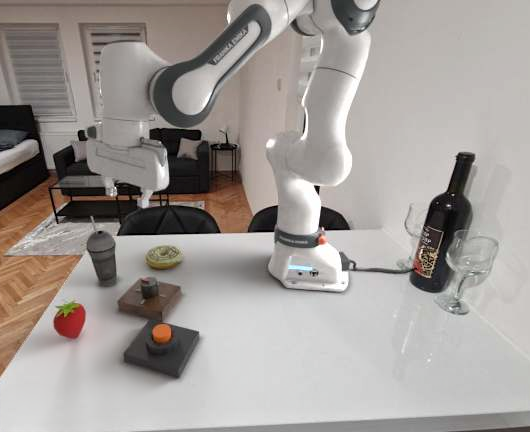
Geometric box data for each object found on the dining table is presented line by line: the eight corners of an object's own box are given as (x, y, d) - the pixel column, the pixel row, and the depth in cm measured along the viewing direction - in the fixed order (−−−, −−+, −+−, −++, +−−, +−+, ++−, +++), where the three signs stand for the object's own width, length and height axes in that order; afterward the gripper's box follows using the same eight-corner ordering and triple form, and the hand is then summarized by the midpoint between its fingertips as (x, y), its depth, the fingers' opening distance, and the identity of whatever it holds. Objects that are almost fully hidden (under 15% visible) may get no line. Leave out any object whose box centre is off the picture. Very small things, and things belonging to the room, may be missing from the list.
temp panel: (181, 295, 79) (181, 285, 77) (163, 322, 70) (161, 311, 69) (141, 286, 82) (140, 277, 81) (119, 310, 74) (117, 300, 72)
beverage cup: (113, 291, 80) (100, 223, 72) (88, 288, 82) (73, 221, 73) (126, 275, 87) (116, 211, 79) (103, 272, 88) (91, 209, 80)
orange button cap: (174, 332, 62) (173, 326, 62) (165, 345, 59) (165, 339, 59) (158, 328, 63) (158, 322, 63) (149, 341, 60) (148, 334, 60)
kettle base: (199, 339, 65) (198, 324, 64) (179, 378, 57) (177, 363, 55) (150, 326, 69) (149, 312, 67) (124, 361, 60) (121, 346, 59)
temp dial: (161, 289, 76) (160, 277, 74) (153, 299, 73) (151, 287, 71) (147, 286, 77) (145, 274, 76) (138, 296, 74) (136, 283, 72)
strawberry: (53, 352, 62) (41, 314, 58) (68, 325, 69) (58, 289, 65) (82, 350, 63) (72, 313, 59) (94, 324, 70) (86, 288, 66)
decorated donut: (188, 264, 92) (187, 253, 91) (154, 275, 87) (153, 264, 85) (173, 249, 100) (172, 239, 99) (141, 259, 95) (140, 248, 93)
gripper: (177, 141, 57) (174, 210, 62) (105, 126, 66) (107, 187, 71) (153, 143, 51) (152, 218, 56) (78, 127, 61) (83, 192, 66)
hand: (126, 201), depth 64 cm, fingers open, 8 cm apart
